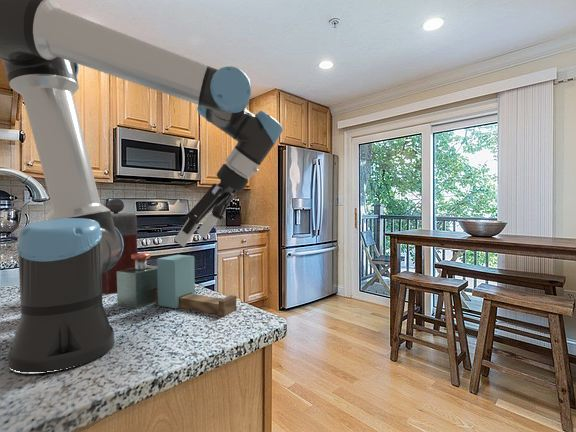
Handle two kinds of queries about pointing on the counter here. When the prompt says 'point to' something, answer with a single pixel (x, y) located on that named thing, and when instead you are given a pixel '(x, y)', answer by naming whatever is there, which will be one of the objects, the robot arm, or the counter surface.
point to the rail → (206, 303)
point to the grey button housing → (136, 287)
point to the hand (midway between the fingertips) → (191, 238)
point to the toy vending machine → (128, 230)
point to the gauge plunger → (140, 261)
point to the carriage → (175, 279)
